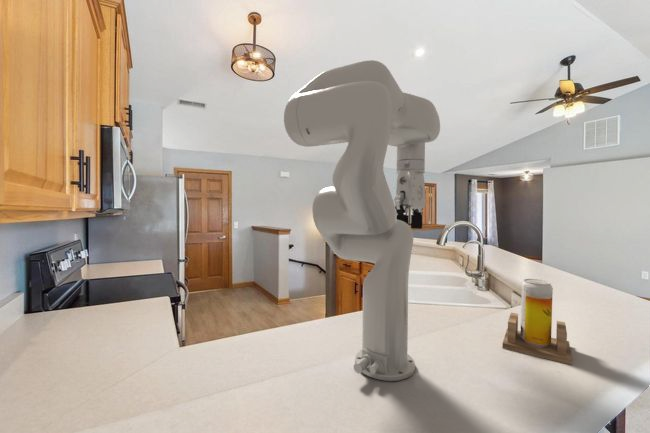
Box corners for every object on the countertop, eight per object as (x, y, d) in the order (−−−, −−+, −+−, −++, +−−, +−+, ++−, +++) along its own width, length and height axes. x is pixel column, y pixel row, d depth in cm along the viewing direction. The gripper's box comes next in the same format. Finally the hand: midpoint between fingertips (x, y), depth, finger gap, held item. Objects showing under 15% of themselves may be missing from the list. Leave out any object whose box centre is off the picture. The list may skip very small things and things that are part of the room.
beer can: (556, 349, 69) (558, 285, 68) (527, 346, 70) (529, 284, 69) (542, 337, 75) (544, 279, 74) (516, 335, 76) (517, 277, 75)
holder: (572, 365, 64) (572, 336, 64) (502, 348, 72) (502, 322, 72) (568, 346, 73) (569, 321, 73) (507, 332, 81) (507, 310, 81)
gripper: (410, 162, 74) (410, 231, 74) (434, 170, 87) (433, 228, 87) (383, 165, 78) (382, 230, 79) (410, 172, 92) (409, 227, 92)
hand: (409, 229), depth 83 cm, fingers open, 9 cm apart
